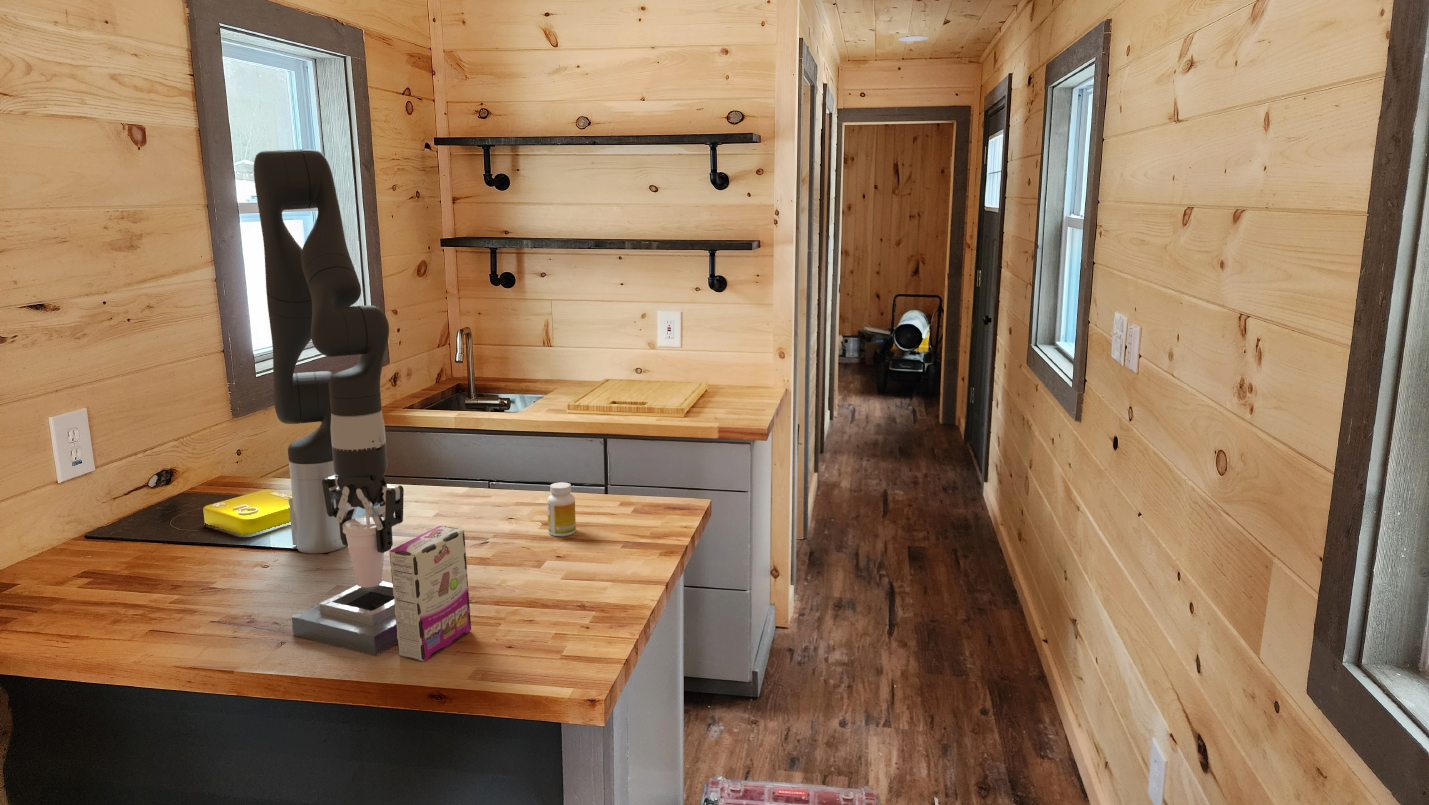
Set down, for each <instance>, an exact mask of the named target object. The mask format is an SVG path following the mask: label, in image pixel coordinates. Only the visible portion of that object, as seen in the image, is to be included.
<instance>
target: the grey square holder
mask: <svg viewBox="0 0 1429 805" xmlns="http://www.w3.org/2000/svg"><path fill="white" fill-rule="evenodd" d="M291 621H292V622H291V624H292V634H293V636H295V637H299V638H303V639H307V640H311V641H315V642H318V643H319V642H320V643H323V644H327V645H329V646H330V645H331V646H334V647H339V648H342V647H343V649H346V650H350V651H354V652H359V653H362V652H363V654H367V655H371V656H374V655H375V656H374V657H376V656H378V655H379V653H380V654H382V653H383V652H385V651H386V650H388V649H390V648H392V647H393V646H395V645H398V640H397V629H396V618H395V606H394V595H393V586H392V582H389V581H383V580H382V583H381V584H379V585H377V586H374V587H359V586H357V584H356V585H354V586H352V587H349V588H347V589H345V590H343V591H341V592H339V593H337V594H335V595H333V596H332V597H329V598H327V599H325V600H323V601H321V602H319V603H317V604H314V605H313V606H310V607H308V608H307V609H305V610H303V611H300V612H298V613H297V614H294V615H292V616H291ZM391 646H392V647H391ZM377 654H378V655H377Z"/></svg>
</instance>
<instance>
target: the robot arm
mask: <svg viewBox="0 0 1429 805" xmlns="http://www.w3.org/2000/svg"><path fill="white" fill-rule="evenodd" d="M253 180H254V188H255V194H256V202H257V207H258V214H259V219H260V226H261V227H260V228H261V233H262V240H263V241H262V242H263V253H264V266H265V267H264V268H265V270H264V272H265V292H266V300H267V312H268V318H269V319H268V320H269V327H270V333H271V334H270V336H271V342H272V344H271V345H272V371H273V372H272V376H273V380H272V381H273V383H272V384H273V385H272V386H273V388H272V389H273V404H274V410H275V414H276V417H277V418H278V420H279V421H280V422H281V423H282V424H285V425H286V424H287V425H296V424H297V425H299V424H308V423H309V424H310V423H319V422H320V425H319V426H318V428H316V429H315V430H314V431H313V432H311V433H309V434H307V435H306V436H303V437H301V438H299V439H298V438H297V439H296V440H294V441H292V442H291V443H289V445H288V447H287V457H288V459H287V460H288V468H289V477H290V487H291V495H292V497H291V498H289V509H290V520H291V525H290V527H291V538H292V546H293V545H296V546H297V547H296V549H298V550H297V551H298V552H301V553H305V554H324V553H330V552H335V551H338V550H340V549H343V548H345V547H348V543H347V538H346V534H345V533H343V524H344V523H345V522H346V521H348V520H351V519H354V518H355V514H356V512H357V509H358V508H361V509H362V510H366V512H367V514H368V516H369V517H372V518H373V521H374V523H375V525H376V527H377V530H376V539H377V551H378V552H380V553H384V554H385V553H386V552H389V551H390V550H392V547H393V544H394V541H393V527H394V526H396V525H399V524H400V525H401V524H402V523H403V521H404V493H405V492H404V490H405V489H404V487H403V486H402V485H401V484H399V485H396V486H394V485H390V484H388V482H387V480H386V477H385V474H386V472H387V469H388V454H387V453H388V452H387V441H386V427H385V426H386V425H385V420H384V415H383V410H382V397H381V394H382V393H381V379H382V378H381V377H382V371H383V364H384V358H385V354H386V350H387V347H388V342H389V337H390V336H389V335H390V324H389V321H388V318H387V316H386V314H385V313H384V311H383V310H382V309H381V308H379V307H378V306H375V305H371V304H370V305H357V306H355V305H354V304H356V303H357V302H358V301H359V299H360V297H361V294H362V288H361V287H362V286H361V283H360V280H359V278H358V275H357V271H356V269H355V266H354V264H353V261H352V258H351V255H350V253H349V248H348V245H347V242H346V236H345V231H344V226H343V219H342V214H341V209H340V205H339V199H338V196H337V195H338V194H337V190H336V185H335V180H334V176H333V172H332V169H331V166H330V163H329V161H328V160H327V158H326V156H325V155H324V154H323V153H322V152H321V151H319V150H316V149H303V148H302V149H268V150H267V149H266V150H261V151H259V152H257V153H256V155H255V157H254V161H253ZM308 209H311V210H312V209H317V217H316V218H315V219H316V220H315V221H314V224H313V226H312V228H311V230H310V232H309V233H308V236H307V238H306V239H305V242H304V244H303V247H301V246H300V245H299V243H298V242H297V241H296V240H295V238H294V237H293V235H292V234H291V232H290V231H289V229H288V227H287V226H286V224H285V222H284V220H283V211H287V210H288V211H289V210H291V211H292V210H308ZM353 305H354V306H353ZM310 341H311V342H312V346H314V348H315V349H316V350H317V351H318V352H319V353H320V354H321V355H323V356H325V357H328V358H330V357H331V358H335V357H336V358H337V357H344V356H345V357H346V356H347V357H348V356H356V355H361V356H359V357H360V358H359V360H358V361H357V363H356V364H355V365H354V366H352V367H349V368H347V369H344V370H340V371H338V372H336V373H335V372H334V373H333V372H332V371H330V370H329V371H328V370H327V371H326V370H325V371H324V370H323V371H321V370H320V371H309V372H307V371H306V372H295V369H296V366H297V363H298V361H299V358H300V357H301V355H302V353H303V351H304V350H305V349H306V347H307V346H308V344H309V343H310ZM378 505H379V507H377V506H378ZM376 507H377V508H376ZM381 517H383V518H384V520H382V518H381Z"/></svg>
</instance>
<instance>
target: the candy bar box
mask: <svg viewBox="0 0 1429 805" xmlns="http://www.w3.org/2000/svg"><path fill="white" fill-rule="evenodd" d="M388 552H389V562H390V570H391V571H390V572H391V583H392V586H393V595H394V606H395V618H396V629H397V640H398V643H397V648H398V649H397V650H398V656H399V657H400V658H401V657H402V658H404V657H406V659H409V660H415V661H419V662H426V661H428V660H430V659H431V658H432V657H433V656H436V655H437V654H438V653H440V652H441V651H442V650H444V649H445V648H447V647H449V646H450V645H451V644H453V643H454V642H456V641H457V640H459V639H461V637H463V636H465V635H466V634H468V633H469V632H470V631H472V624H471V623H472V621H471V608H470V595H469V593H470V592H469V581H468V564H467V563H468V562H467V551H466V539H465V529H463V528H457V527H456V528H455V527H451V526H446V525H438V526H436V527H435V528H432V529H431V530H428V531H426V532H424V533H422V534H420V535H418V536H416V537H414V538H412V539H410V540H408V541H406V542H404V543H402V544H400V545H398V546H396V547H394V548H391V549H390V550H389V551H388Z"/></svg>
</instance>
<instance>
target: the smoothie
mask: <svg viewBox="0 0 1429 805" xmlns="http://www.w3.org/2000/svg"><path fill="white" fill-rule="evenodd" d="M364 510H365V509H364ZM364 512H365V516H359V517H353V518H352V519H351V520H348V521H346V522H345V523H344V524H343V533H345V534H346V538H347V543H348V546H347V547H348V551H349V557H350V560H351V564H352V570H353V573H354V578H355V583H356V585H357V586H359V587H374V586H377V585H379V584H381V583H382V581H383V577H384V575H383V574H384V572H383V571H384V561H385V560H384V559H385V558H384V556H385V552H384V553H380V552H378V551H377V539H376V530H377V527H376V525H375V523H374V521H373V518H372V517H369V516H368V514H367V512H366V510H365V511H364ZM381 518H382V520H384V518H383V516H381Z"/></svg>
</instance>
